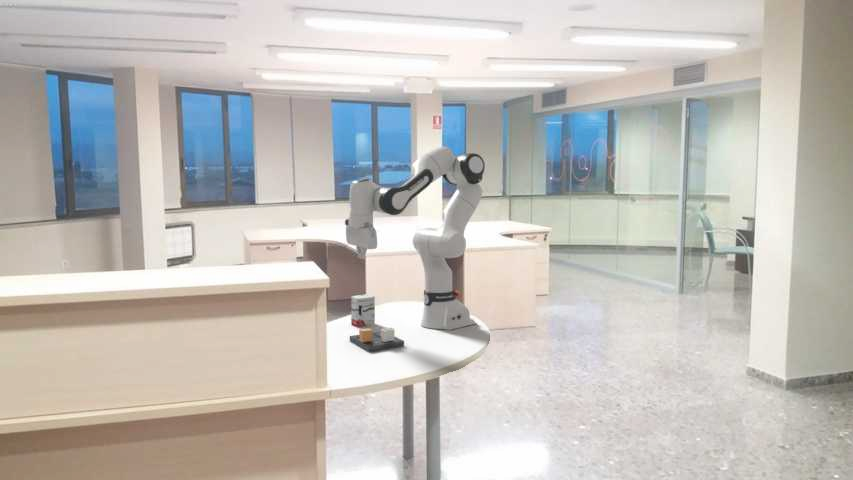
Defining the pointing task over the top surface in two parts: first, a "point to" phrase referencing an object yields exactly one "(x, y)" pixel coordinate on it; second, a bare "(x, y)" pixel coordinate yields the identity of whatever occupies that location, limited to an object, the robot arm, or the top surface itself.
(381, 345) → the console
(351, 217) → the robot arm
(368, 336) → the fader
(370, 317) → the ink box
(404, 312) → the top surface
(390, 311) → the top surface
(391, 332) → the fader
